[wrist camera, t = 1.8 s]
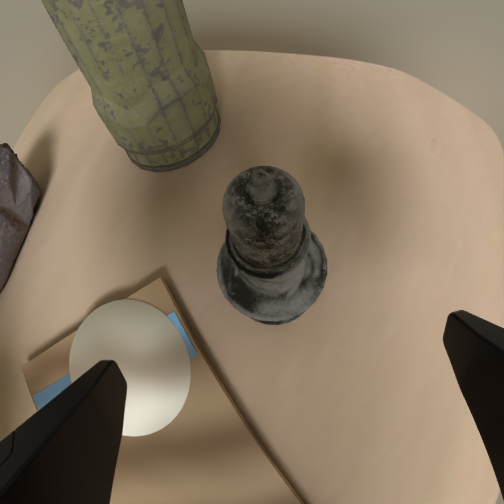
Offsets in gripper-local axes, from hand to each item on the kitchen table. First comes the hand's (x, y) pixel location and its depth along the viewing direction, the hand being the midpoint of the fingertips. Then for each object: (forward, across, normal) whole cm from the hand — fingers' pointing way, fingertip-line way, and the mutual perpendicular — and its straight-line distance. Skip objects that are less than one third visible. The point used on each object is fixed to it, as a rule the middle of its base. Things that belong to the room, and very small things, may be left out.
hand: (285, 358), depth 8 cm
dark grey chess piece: (+12, 0, +5) cm, 13 cm away
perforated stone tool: (+17, +23, 0) cm, 29 cm away
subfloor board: (+4, +9, +12) cm, 16 cm away
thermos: (+22, +7, -5) cm, 24 cm away
